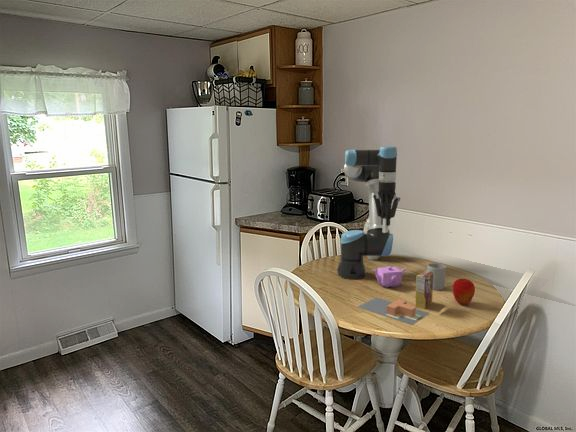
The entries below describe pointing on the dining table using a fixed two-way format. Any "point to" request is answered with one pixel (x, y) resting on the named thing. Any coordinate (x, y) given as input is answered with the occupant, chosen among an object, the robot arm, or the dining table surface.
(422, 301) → the candy box
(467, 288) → the apple
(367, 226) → the vase
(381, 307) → the plate
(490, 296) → the dining table surface
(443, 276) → the mug
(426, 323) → the dining table surface
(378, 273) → the teapot
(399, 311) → the t block
